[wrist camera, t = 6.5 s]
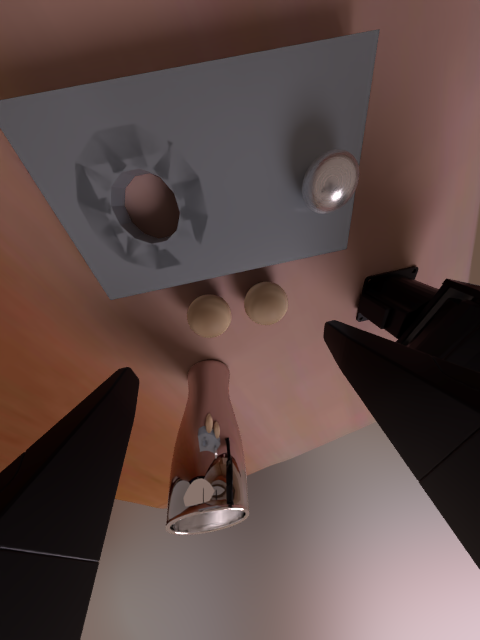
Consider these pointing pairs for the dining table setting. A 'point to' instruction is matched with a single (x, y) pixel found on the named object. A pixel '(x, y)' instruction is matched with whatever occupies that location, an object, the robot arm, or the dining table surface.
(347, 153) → the steel ball
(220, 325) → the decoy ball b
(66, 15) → the dining table surface
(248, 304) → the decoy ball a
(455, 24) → the dining table surface
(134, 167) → the plate
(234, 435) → the beer glass
